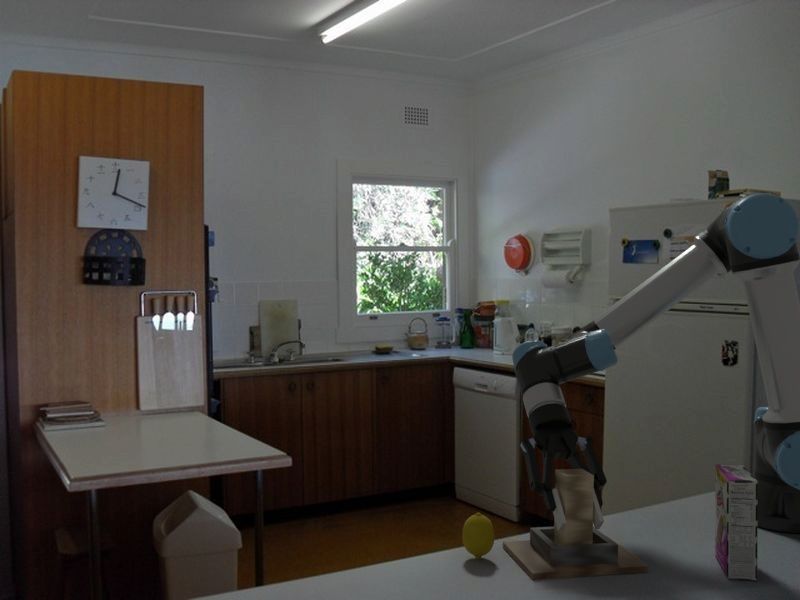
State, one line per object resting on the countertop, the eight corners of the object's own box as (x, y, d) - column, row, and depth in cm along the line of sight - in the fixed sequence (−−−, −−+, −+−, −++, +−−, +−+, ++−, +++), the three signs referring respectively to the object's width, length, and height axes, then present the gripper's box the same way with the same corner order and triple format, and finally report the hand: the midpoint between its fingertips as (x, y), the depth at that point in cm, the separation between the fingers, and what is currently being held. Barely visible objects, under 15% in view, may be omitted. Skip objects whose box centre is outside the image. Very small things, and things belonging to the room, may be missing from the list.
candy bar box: (712, 556, 142) (714, 463, 142) (743, 558, 141) (744, 464, 141) (725, 580, 131) (726, 478, 131) (758, 582, 130) (759, 480, 130)
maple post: (580, 547, 144) (582, 468, 143) (592, 557, 139) (593, 475, 138) (553, 548, 143) (555, 469, 142) (564, 558, 138) (565, 476, 137)
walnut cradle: (607, 541, 150) (607, 519, 150) (648, 572, 134) (648, 548, 134) (502, 547, 147) (503, 525, 147) (532, 579, 131) (532, 554, 131)
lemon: (500, 558, 141) (500, 512, 141) (481, 566, 137) (481, 519, 137) (475, 551, 145) (475, 506, 144) (455, 558, 141) (455, 512, 140)
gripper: (589, 423, 157) (626, 533, 141) (494, 426, 154) (522, 539, 138) (601, 400, 151) (641, 512, 136) (503, 402, 148) (532, 517, 132)
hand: (581, 525), depth 137 cm, fingers open, 6 cm apart
